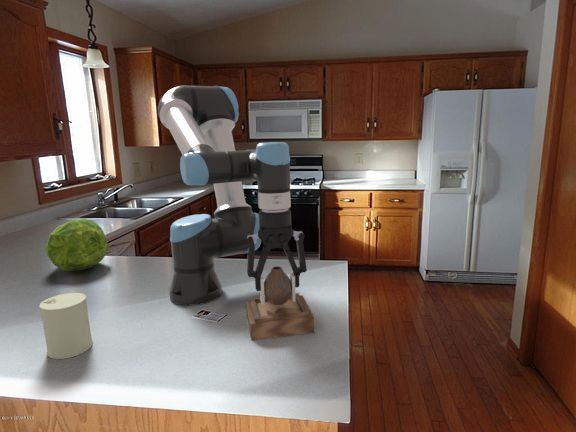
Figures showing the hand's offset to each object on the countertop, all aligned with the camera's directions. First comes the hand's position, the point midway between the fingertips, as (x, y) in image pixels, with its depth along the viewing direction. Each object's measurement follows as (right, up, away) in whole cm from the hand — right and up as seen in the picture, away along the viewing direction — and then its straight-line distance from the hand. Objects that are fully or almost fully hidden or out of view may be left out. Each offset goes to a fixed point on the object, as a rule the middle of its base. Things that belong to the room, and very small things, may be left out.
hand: (277, 300), depth 98 cm
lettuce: (-74, +2, +47) cm, 88 cm away
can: (-47, -9, -8) cm, 48 cm away
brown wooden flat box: (0, -6, +1) cm, 6 cm away
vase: (0, 0, 0) cm, 0 cm away
